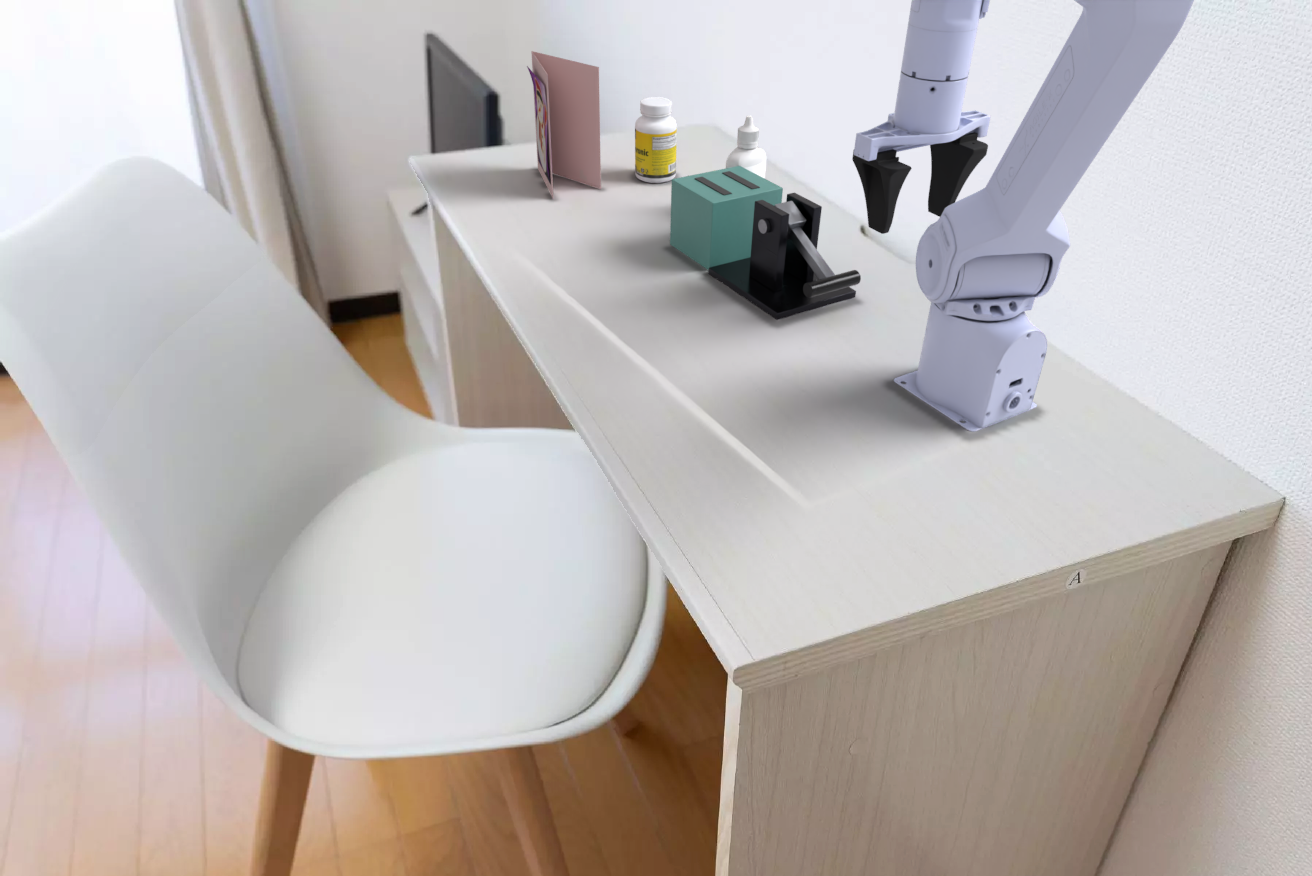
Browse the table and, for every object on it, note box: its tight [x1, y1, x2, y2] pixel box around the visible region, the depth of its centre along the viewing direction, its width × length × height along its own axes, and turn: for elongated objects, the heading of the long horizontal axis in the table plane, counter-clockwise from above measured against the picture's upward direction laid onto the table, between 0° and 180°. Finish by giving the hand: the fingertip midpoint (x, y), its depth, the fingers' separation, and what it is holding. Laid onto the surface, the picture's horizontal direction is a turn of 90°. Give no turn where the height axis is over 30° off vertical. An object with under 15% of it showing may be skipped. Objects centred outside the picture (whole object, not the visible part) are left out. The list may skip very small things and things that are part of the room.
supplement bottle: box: [634, 96, 678, 184], centre depth 125 cm, size 5×5×10 cm
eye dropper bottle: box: [725, 115, 767, 179], centre depth 113 cm, size 4×6×12 cm
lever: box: [774, 201, 862, 298], centre depth 95 cm, size 11×6×2 cm, turn 31°
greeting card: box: [526, 50, 602, 199], centre depth 121 cm, size 11×7×15 cm, turn 15°
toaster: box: [669, 166, 784, 271], centre depth 105 cm, size 8×9×8 cm
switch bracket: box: [707, 192, 857, 321], centre depth 98 cm, size 12×10×9 cm
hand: (908, 222), depth 91 cm, fingers open, 7 cm apart
